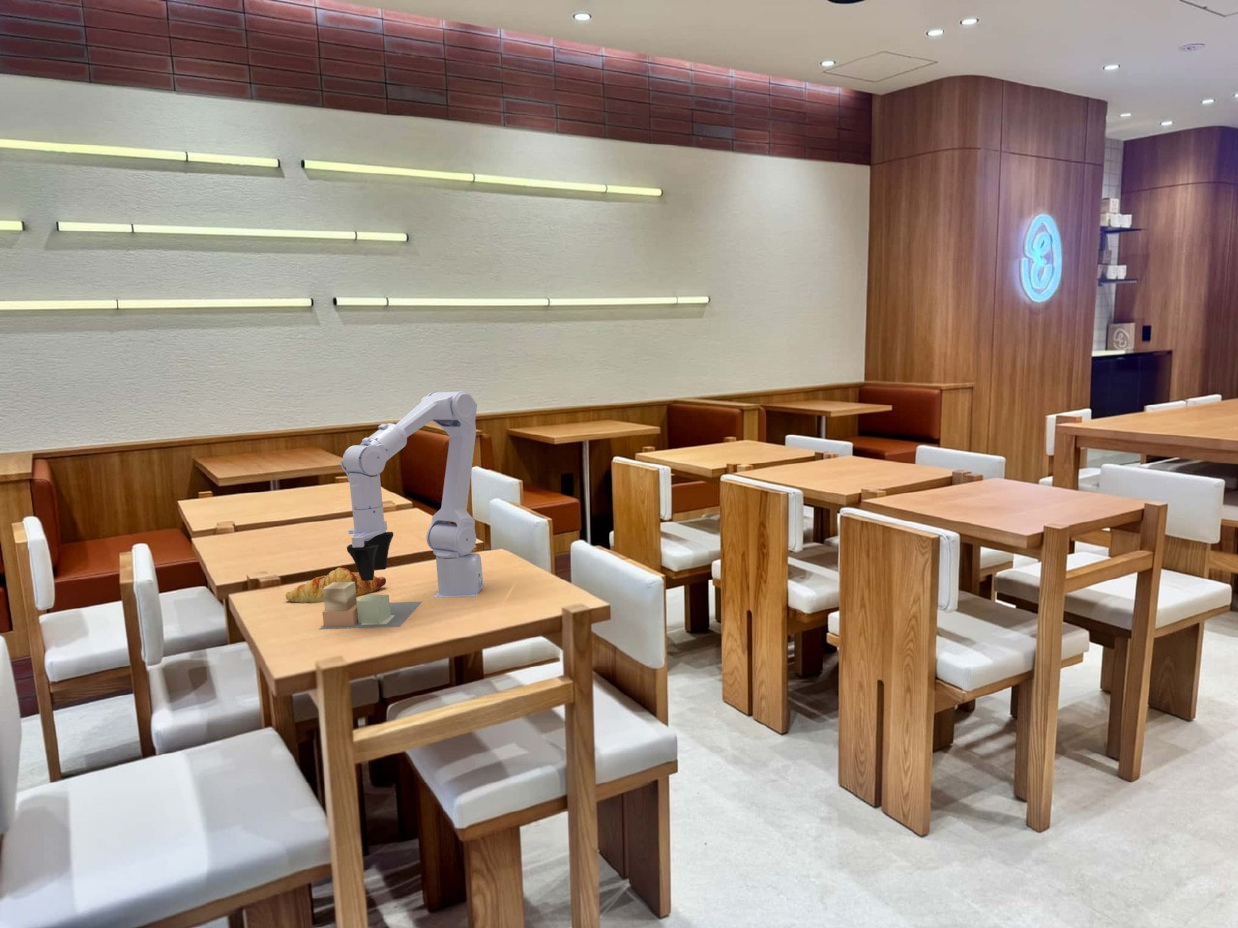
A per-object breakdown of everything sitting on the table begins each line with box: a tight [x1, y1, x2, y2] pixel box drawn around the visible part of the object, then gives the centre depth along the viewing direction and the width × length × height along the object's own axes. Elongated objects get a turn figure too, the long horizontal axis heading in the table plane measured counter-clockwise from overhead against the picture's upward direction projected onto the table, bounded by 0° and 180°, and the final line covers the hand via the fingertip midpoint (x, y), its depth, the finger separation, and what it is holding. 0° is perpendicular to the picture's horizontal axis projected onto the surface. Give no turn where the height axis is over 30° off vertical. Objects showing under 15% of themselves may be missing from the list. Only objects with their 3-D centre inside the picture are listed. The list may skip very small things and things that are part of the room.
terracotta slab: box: [321, 604, 358, 627], centre depth 166 cm, size 6×6×3 cm
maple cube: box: [323, 582, 357, 611], centre depth 165 cm, size 4×4×4 cm
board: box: [318, 601, 423, 630], centre depth 169 cm, size 16×16×1 cm
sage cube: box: [357, 593, 391, 624], centre depth 166 cm, size 4×4×4 cm
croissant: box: [285, 567, 387, 604], centre depth 185 cm, size 21×10×8 cm, turn 111°
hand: (374, 574), depth 165 cm, fingers open, 7 cm apart
